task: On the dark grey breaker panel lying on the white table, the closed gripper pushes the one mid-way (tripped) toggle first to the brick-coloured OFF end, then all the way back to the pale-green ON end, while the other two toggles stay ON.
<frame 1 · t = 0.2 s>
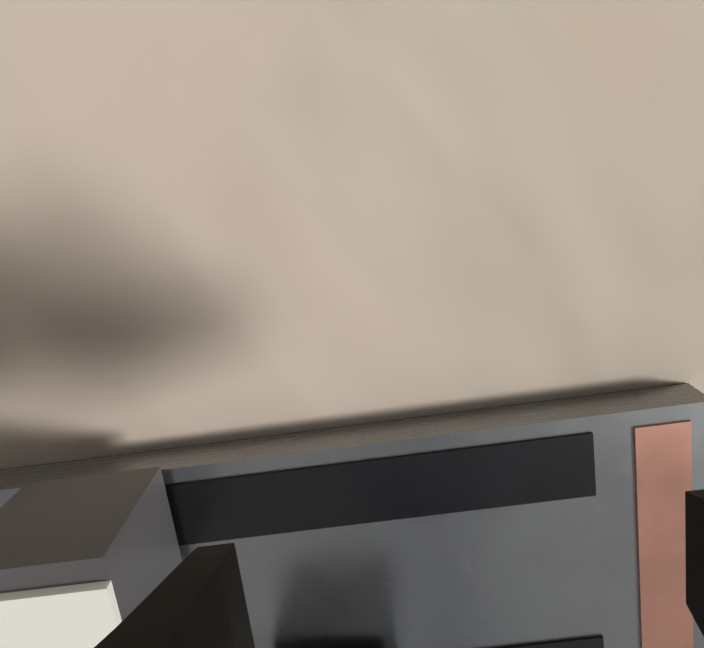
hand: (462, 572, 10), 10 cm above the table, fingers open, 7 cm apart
breaker 3: (73, 579, 17), point 4 cm above the table, slide at 6.0 cm
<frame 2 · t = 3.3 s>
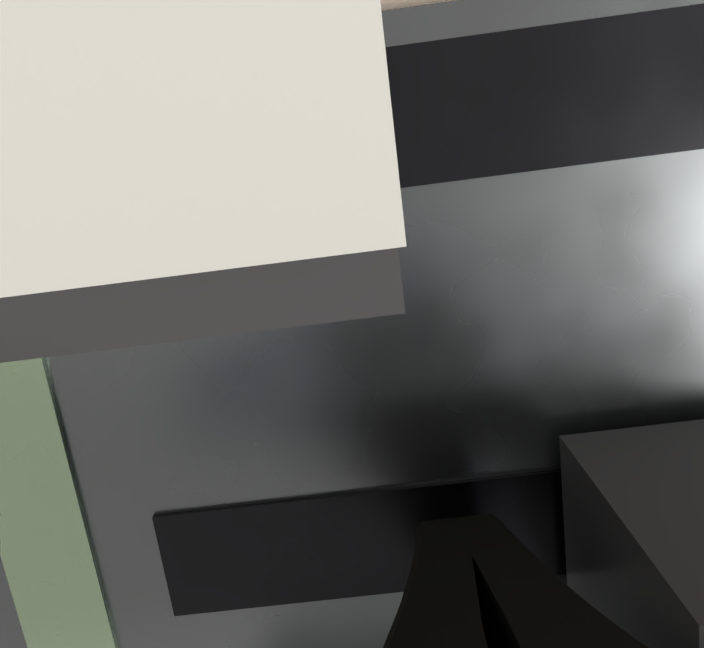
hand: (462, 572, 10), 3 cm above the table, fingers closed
panel: (614, 494, 13), on the table
breaker 3: (191, 133, 7), point 4 cm above the table, slide at 6.0 cm
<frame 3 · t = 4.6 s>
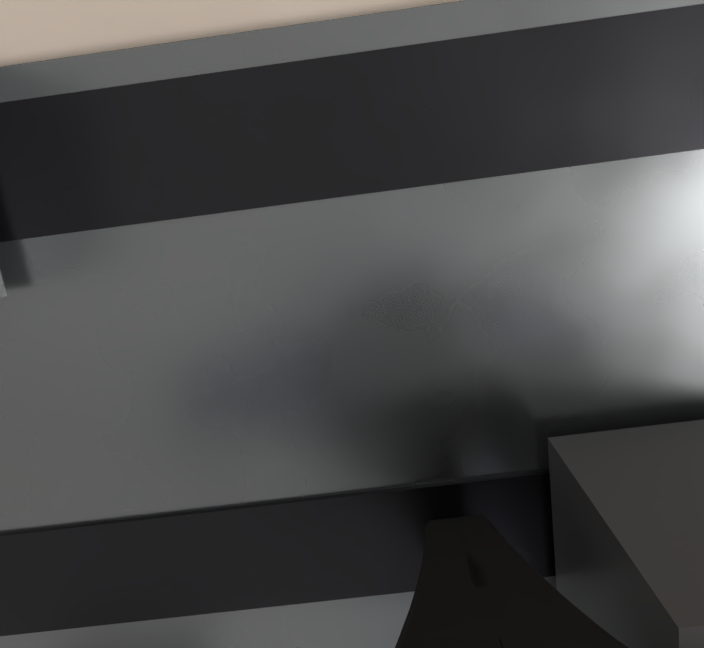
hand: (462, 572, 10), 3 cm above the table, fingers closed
panel: (323, 527, 13), on the table
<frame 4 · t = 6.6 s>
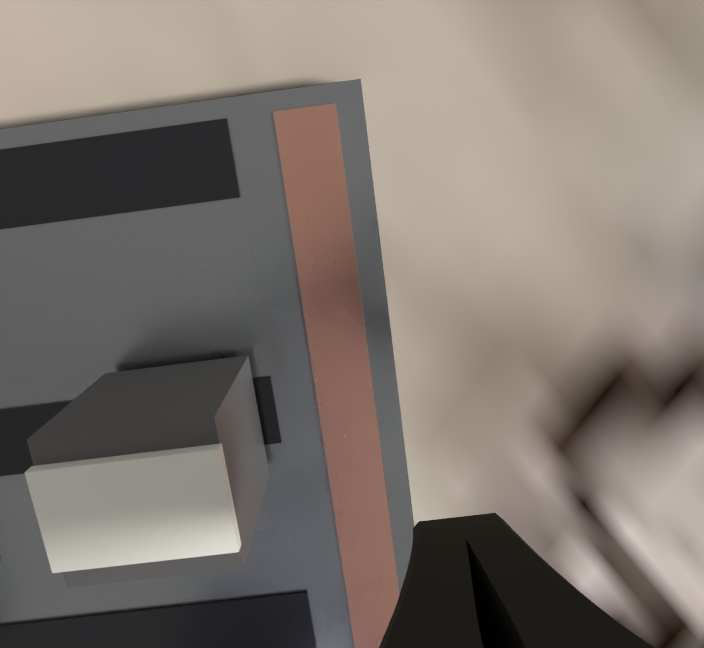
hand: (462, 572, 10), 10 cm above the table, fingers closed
panel: (17, 438, 20), on the table
tripped breaker: (165, 462, 16), point 4 cm above the table, slide at -6.1 cm
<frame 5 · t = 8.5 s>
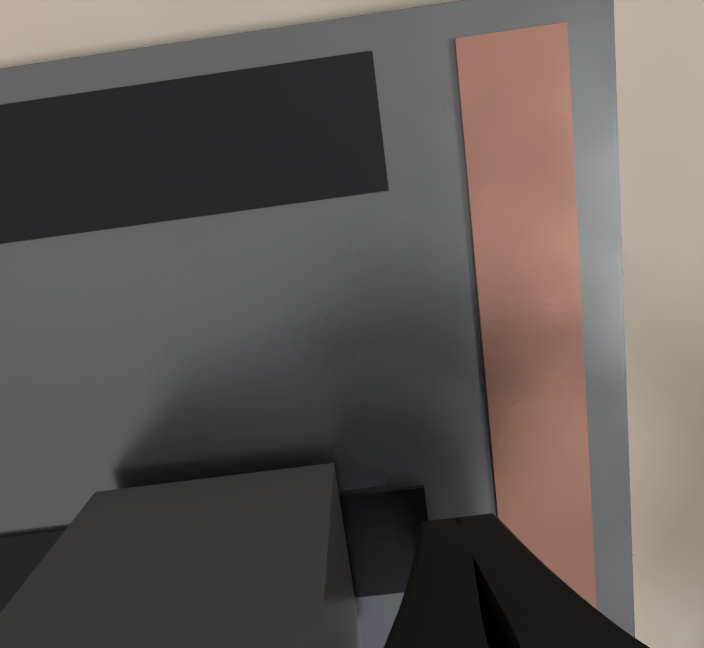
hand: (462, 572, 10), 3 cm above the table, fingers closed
panel: (11, 564, 13), on the table
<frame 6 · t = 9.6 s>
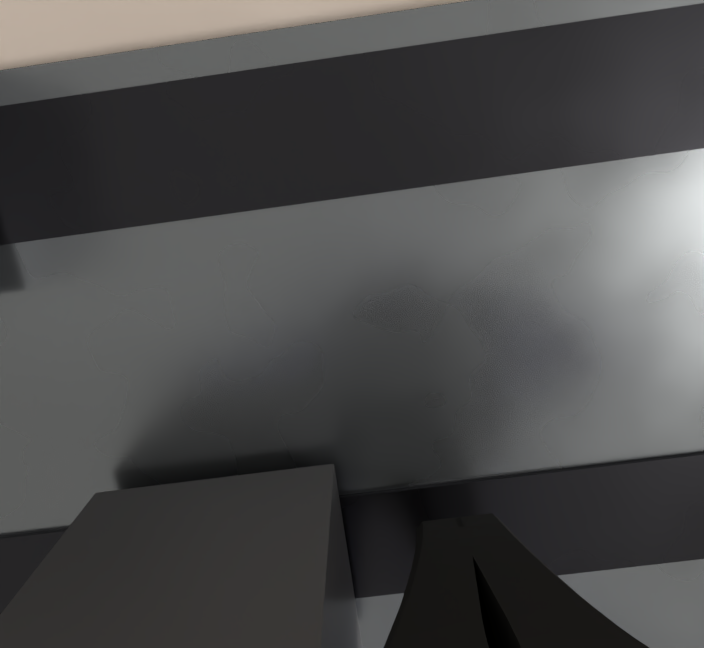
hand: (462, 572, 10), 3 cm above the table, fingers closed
panel: (318, 528, 13), on the table
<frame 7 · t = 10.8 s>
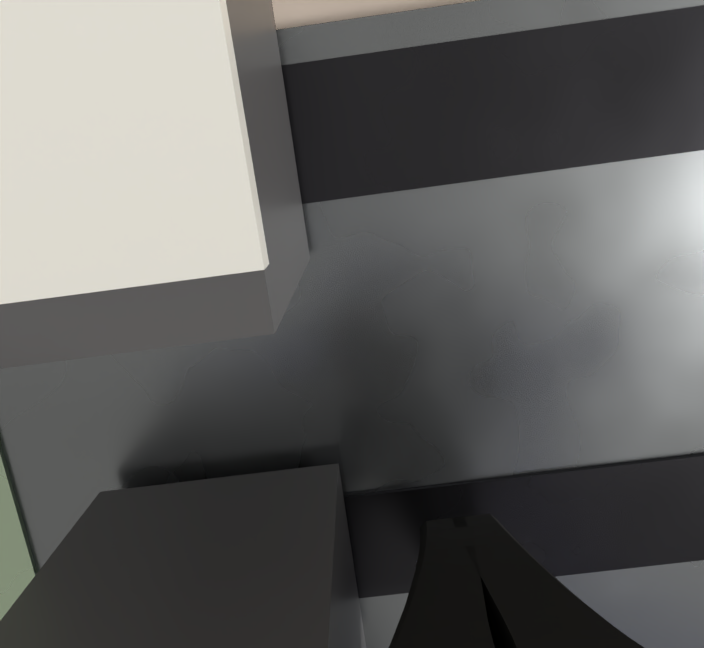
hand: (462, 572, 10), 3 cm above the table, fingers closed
panel: (558, 501, 13), on the table
breaker 3: (92, 152, 7), point 4 cm above the table, slide at 6.0 cm
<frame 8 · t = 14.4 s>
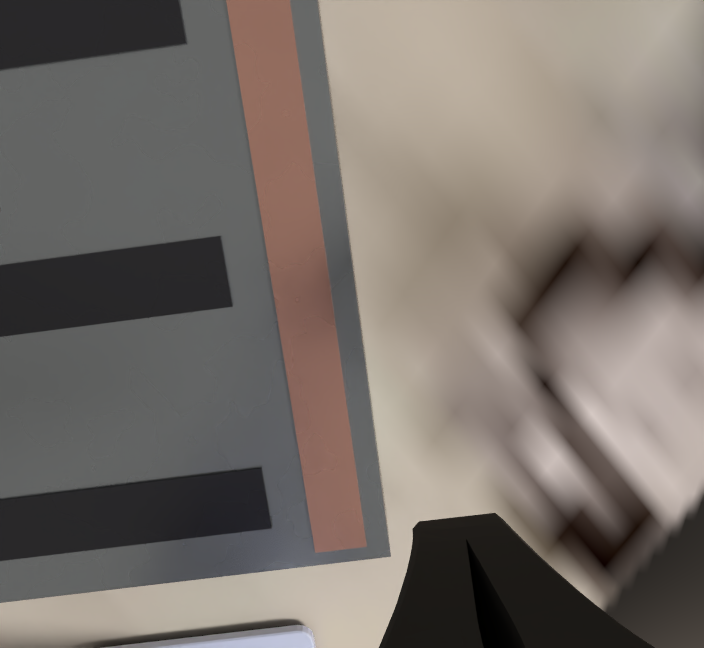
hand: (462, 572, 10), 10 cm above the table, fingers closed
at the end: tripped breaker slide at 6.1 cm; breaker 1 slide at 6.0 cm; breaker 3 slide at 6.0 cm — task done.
